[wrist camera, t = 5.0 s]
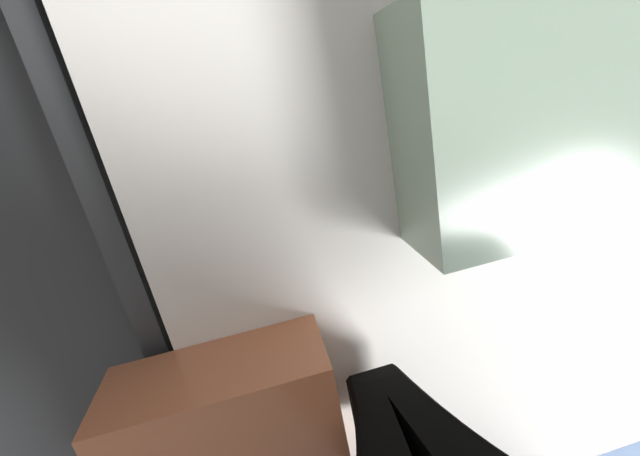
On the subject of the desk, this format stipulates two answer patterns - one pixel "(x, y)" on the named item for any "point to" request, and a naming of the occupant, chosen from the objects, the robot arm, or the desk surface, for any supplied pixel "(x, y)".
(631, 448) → the desk surface
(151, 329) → the box
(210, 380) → the terracotta tile
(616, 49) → the sage-green tile
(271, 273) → the white board
